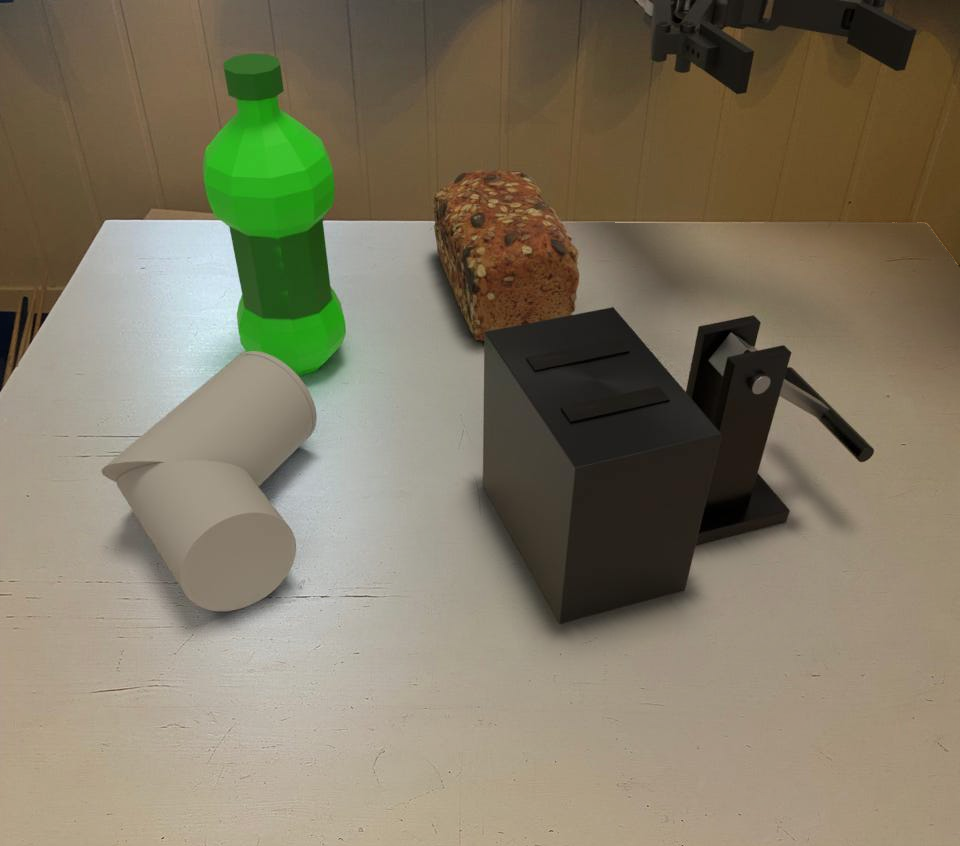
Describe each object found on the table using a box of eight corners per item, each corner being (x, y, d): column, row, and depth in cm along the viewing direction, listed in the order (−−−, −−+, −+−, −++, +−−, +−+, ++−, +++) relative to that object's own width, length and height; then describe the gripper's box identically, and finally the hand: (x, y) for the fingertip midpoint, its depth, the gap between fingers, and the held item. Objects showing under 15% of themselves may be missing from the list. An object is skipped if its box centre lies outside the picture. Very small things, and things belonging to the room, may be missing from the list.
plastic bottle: (254, 327, 94) (200, 37, 76) (362, 333, 94) (335, 42, 75) (227, 387, 88) (160, 86, 69) (343, 394, 87) (307, 92, 68)
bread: (576, 338, 94) (585, 236, 86) (467, 350, 92) (466, 248, 84) (528, 245, 106) (532, 149, 98) (431, 255, 104) (428, 158, 96)
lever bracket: (735, 461, 81) (777, 297, 70) (786, 521, 76) (840, 356, 65) (626, 487, 79) (652, 322, 68) (672, 551, 74) (707, 385, 63)
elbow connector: (69, 471, 78) (161, 628, 67) (57, 348, 71) (158, 501, 60) (274, 439, 87) (385, 572, 76) (281, 328, 80) (404, 457, 69)
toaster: (595, 460, 81) (613, 304, 71) (685, 590, 71) (722, 432, 61) (482, 486, 79) (484, 329, 68) (559, 624, 69) (575, 466, 59)
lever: (780, 388, 79) (801, 364, 78) (858, 470, 72) (883, 445, 71) (678, 328, 71) (700, 300, 70) (756, 413, 64) (781, 384, 63)
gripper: (803, 12, 90) (951, 95, 76) (552, 43, 84) (666, 139, 71) (825, -88, 84) (989, -17, 71) (558, -62, 78) (682, 21, 65)
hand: (828, 61), depth 71 cm, fingers open, 13 cm apart
